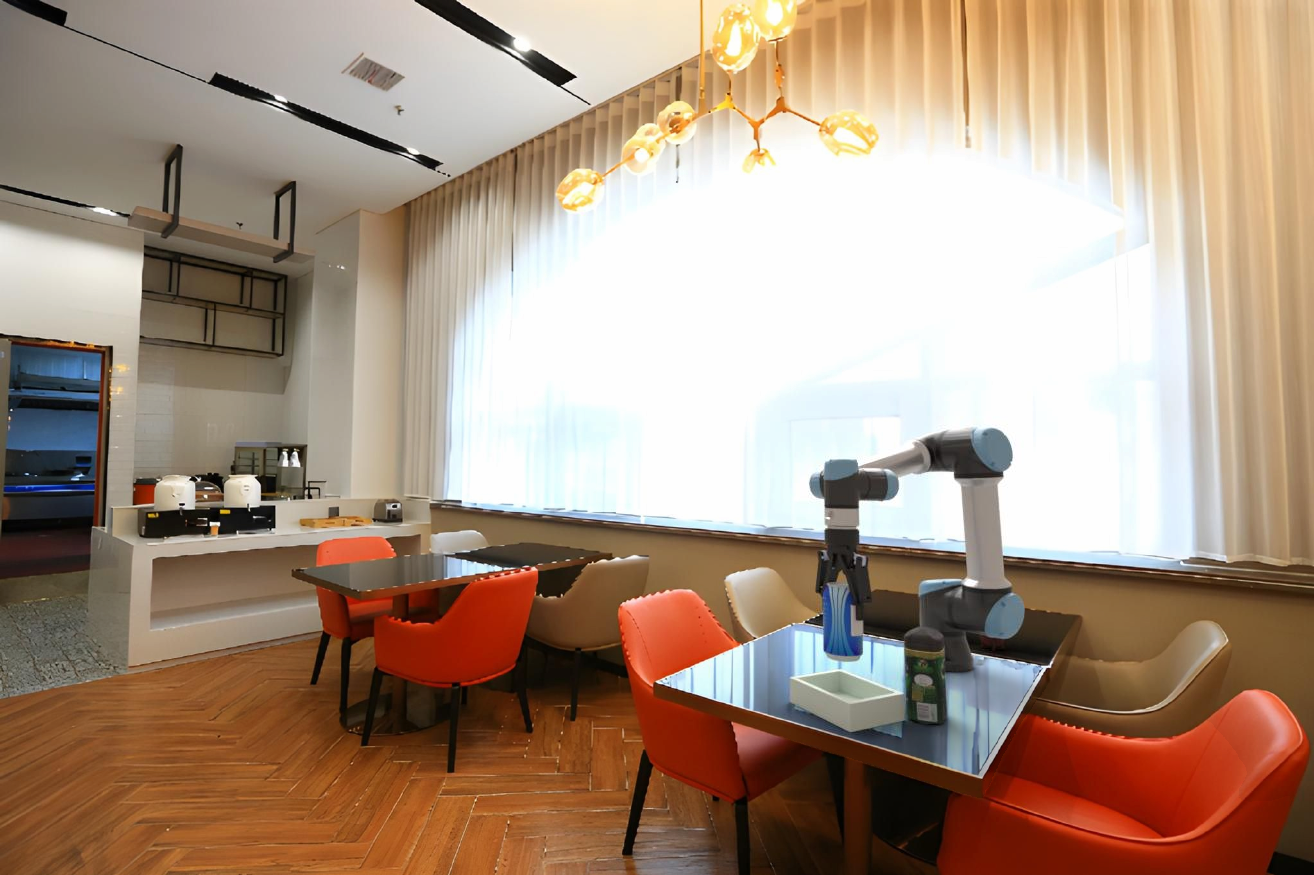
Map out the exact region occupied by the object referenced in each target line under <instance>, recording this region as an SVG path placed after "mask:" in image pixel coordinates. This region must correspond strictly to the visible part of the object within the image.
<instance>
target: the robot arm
mask: <svg viewBox="0 0 1314 875" xmlns="http://www.w3.org/2000/svg"><path fill="white" fill-rule="evenodd" d="M1013 457H1014V453H1013V448H1012V444H1011V442H1010V440H1009V437H1008V436H1007V435H1006V434H1005V433H1004V432H1003V431H1002V430H1001V429H1000V428H998V427H994V426H980V425H978V426H973V427H964V428H963V427H961V428H952V429H950V428H949V429H941V430H938V431H934V432H931V433H927V434H924V435H922V436H919V437H917V438H913V439H910V440H908V441H906V442H904V444H903V445H902V446H901V447H897V448H894V449H892V450H891V449H890V450H888V451H885V452H881V453H878V454H876V455H872V456H869V457H866V458H863V459H860V460H857V459H856V458H829V459H826V460H825V462H824V468H823V469H818V470H815V471H814V472H813V473H812V474H811V476H810V478H809V482H808V484H809V490H810V492H811V494H812V496H813V497H815V498H817V499H820V500H821V499H822V500H823V501H824V502H823V504H824V525H825V526H826V527H825V529H824V532H823V533H824V544H825V545H827V549H826V550H818V551H817V558H818V559H817V560H818V563H817V569H816V570H817V571H816V578H815V579H816V582H815V589H814V590H815V593H816V594H819V595H820V597H821V606H822V607H821V609H822V611H823V592H824V591H825V589H826V587H827V583H829V582H838V581H837V580H838V577H839V574H840V572H841V571H842V572H841V573H842V574H843V575H844V576H845V579H846V582H848V586H849V589H850V592H851V596H852V599H853V602H854V603H851V604H852V605H851V636H860V635H863V636H864V621H865V617H866V616H865V615H866V614H865V610H866V609H865V607H866V605H868V604H871V603H873V595H872V587H871V581H870V572H869V566H868V565H869V557H868V555H861V554H859V553H858V550H857V549H858V548H857V547H858V546H859V545H860V530H859V529H858V528H857V527H859V526H860V501H862V502H863V501H864V502H865V501H866V502H881V503H882V502H884V501H891V500H893V499H894V498H895V497H896V496H897V494H898V493H899V489H900V481H899V478H902V477H904V476H907V475H908V476H909V475H912V474H913V475H922V474H925V473H933V472H936V473H937V472H942V473H943V472H946V473H947V472H948V473H953V479H954V480H955V481H956V482H957V483H958V484H959V485H960V489H961V490H960V492H961V504H962V516H963V517H962V519H963V531H964V532H963V533H964V534H963V535H964V545H965V558H966V571H967V572H966V573H967V575H966V577H965V578H964V579H961V578H942V579H941V578H940V579H928V580H923V581H921V582H920V583H919V585H918V586H919V587H918V595H917V597H918V607H919V608H918V610H919V611H918V612H919V627H927V628H935V629H937V630H938V631H939V632H940V633H942V634H943V636H944V650H945V672H968V671H971V670H973V669H974V668H975V660H974V656H973V655H972V651H971V649H970V646H969V643H968V639H967V632H968V633H969V632H970V633H974V634H977V635H980V634H981V635H985V636H988V637H991V638H994V637H995V638H1001V639H1005V640H1006V639H1010V638H1013V637H1014V636H1015V635H1016V634H1017V633H1018V631H1019V630H1020V628H1021V627H1022V625H1023V622H1024V619H1025V604H1024V601H1023V600H1022V598H1021V596H1020V595H1018V594H1016V593H1014V592H1013V586H1012V585H1013V584H1012V583H1011V582H1010V581H1009V580H1008V579H1007V578H1006V577H1005V568H1004V554H1003V552H1004V551H1003V541H1002V539H1003V538H1002V526H1001V513H1000V512H1001V511H1000V500H999V499H1000V498H999V483H1000V482H1001V481H1002V480H1003V479H1004V478H1005V477H1004V472H1005V471H1007V470H1009V469H1010V467H1011V466H1012V462H1013ZM858 597H859V599H858Z"/></svg>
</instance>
